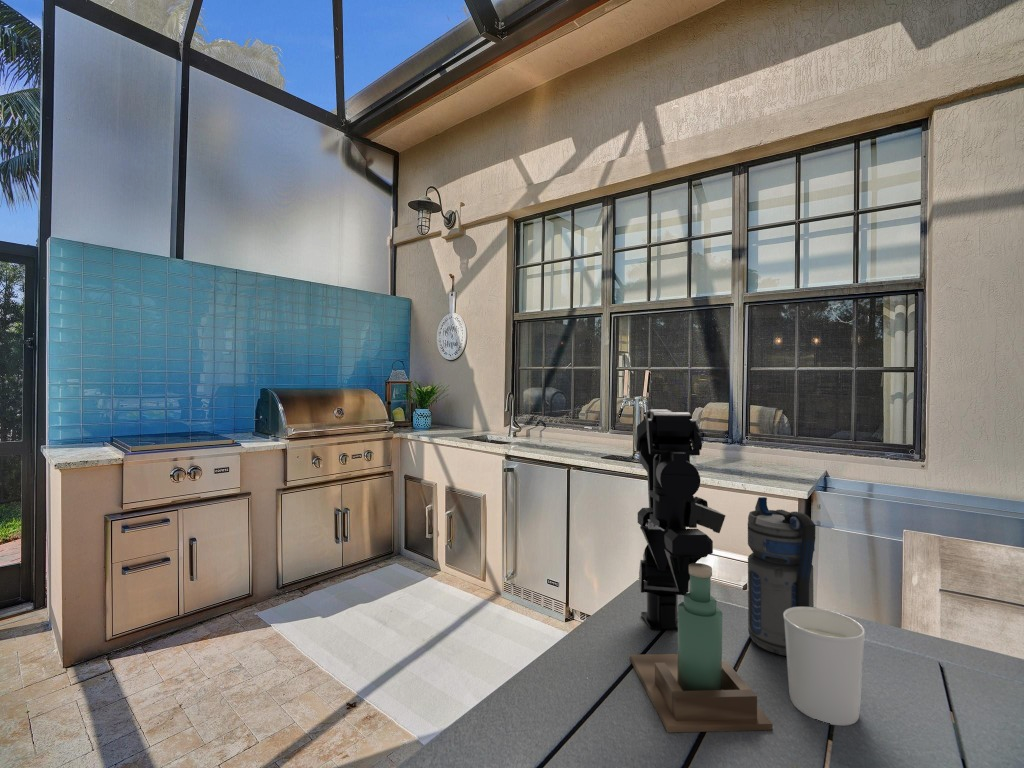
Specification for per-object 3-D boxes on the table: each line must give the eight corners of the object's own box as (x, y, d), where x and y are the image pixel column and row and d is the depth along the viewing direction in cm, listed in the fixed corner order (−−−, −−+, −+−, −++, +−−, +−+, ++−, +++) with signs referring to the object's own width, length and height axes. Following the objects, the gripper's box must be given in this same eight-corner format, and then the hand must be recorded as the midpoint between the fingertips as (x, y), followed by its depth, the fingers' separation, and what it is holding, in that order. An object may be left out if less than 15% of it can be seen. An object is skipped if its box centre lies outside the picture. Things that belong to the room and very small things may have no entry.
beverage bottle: (784, 671, 78) (783, 513, 79) (734, 631, 91) (733, 496, 92) (840, 665, 80) (838, 511, 80) (783, 627, 93) (782, 495, 93)
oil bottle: (668, 690, 71) (670, 565, 72) (691, 676, 75) (692, 557, 75) (707, 712, 67) (708, 577, 67) (729, 695, 70) (730, 568, 71)
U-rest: (629, 659, 81) (629, 636, 81) (712, 658, 82) (712, 635, 82) (667, 732, 64) (667, 702, 64) (772, 729, 64) (772, 700, 64)
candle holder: (826, 736, 63) (825, 642, 64) (768, 691, 73) (767, 610, 73) (884, 723, 66) (883, 633, 66) (820, 681, 75) (819, 603, 76)
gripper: (746, 498, 73) (747, 603, 73) (695, 477, 92) (695, 561, 91) (673, 498, 73) (673, 604, 72) (636, 477, 91) (636, 561, 91)
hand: (671, 580), depth 82 cm, fingers open, 9 cm apart
